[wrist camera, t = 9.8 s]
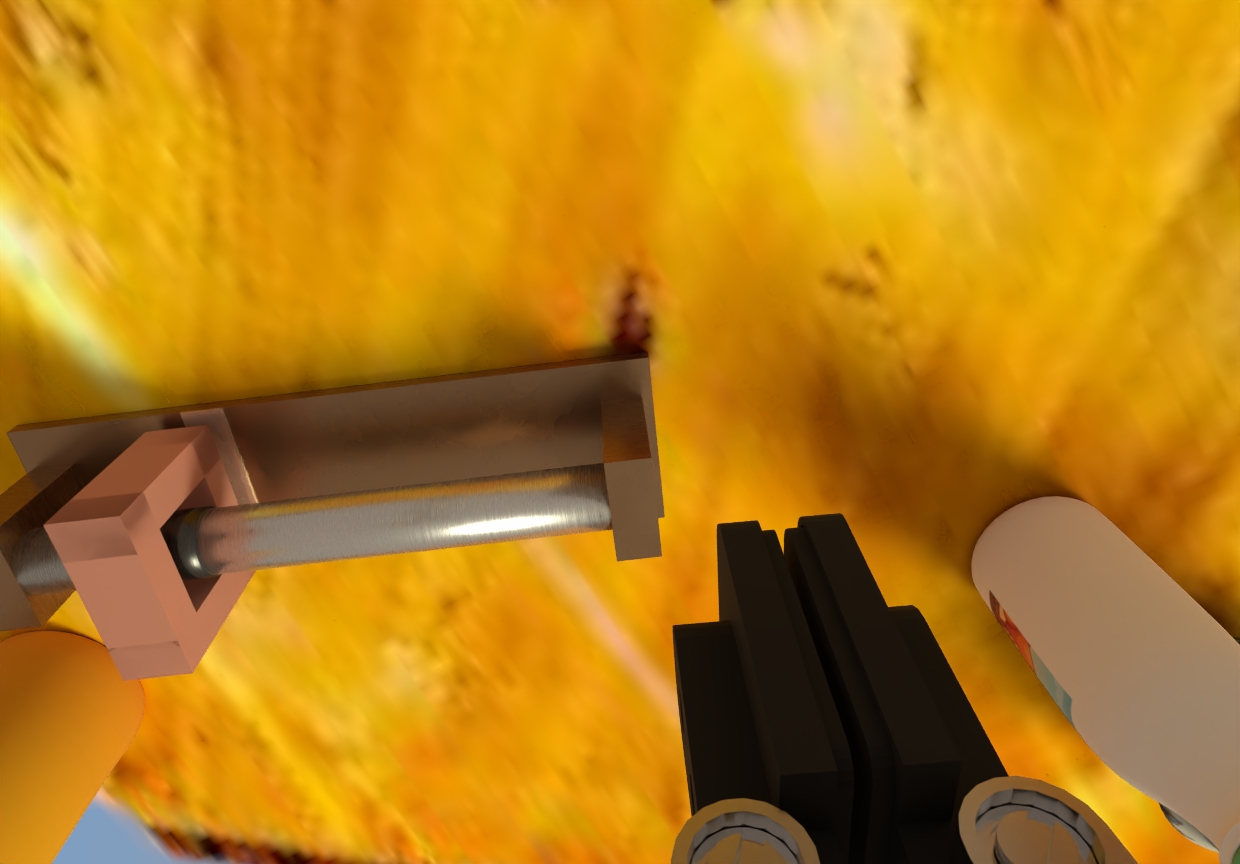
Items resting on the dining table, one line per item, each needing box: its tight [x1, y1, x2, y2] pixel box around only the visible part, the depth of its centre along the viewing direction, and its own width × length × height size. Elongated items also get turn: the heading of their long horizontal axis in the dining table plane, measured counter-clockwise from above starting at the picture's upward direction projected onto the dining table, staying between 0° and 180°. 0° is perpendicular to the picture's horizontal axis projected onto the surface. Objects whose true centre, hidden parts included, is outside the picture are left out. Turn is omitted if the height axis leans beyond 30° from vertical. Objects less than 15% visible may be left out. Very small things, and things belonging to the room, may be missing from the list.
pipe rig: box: [0, 352, 665, 631], centre depth 38 cm, size 9×31×7 cm, turn 96°
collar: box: [43, 425, 256, 681], centre depth 36 cm, size 8×3×8 cm, turn 6°
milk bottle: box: [971, 496, 1240, 864], centre depth 36 cm, size 8×8×20 cm
